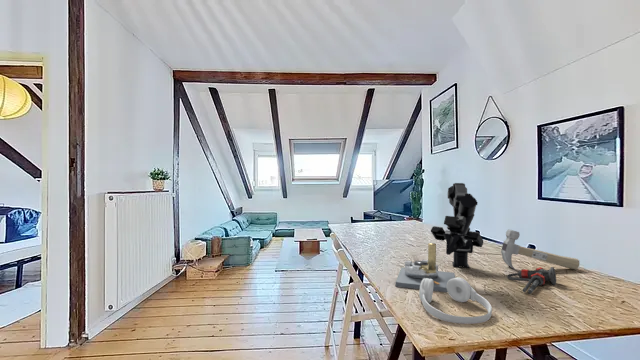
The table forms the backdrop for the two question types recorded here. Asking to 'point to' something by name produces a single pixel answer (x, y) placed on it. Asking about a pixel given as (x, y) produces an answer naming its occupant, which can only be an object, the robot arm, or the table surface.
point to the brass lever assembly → (423, 265)
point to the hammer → (533, 253)
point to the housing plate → (415, 283)
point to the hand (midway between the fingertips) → (447, 254)
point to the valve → (534, 277)
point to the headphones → (458, 292)
